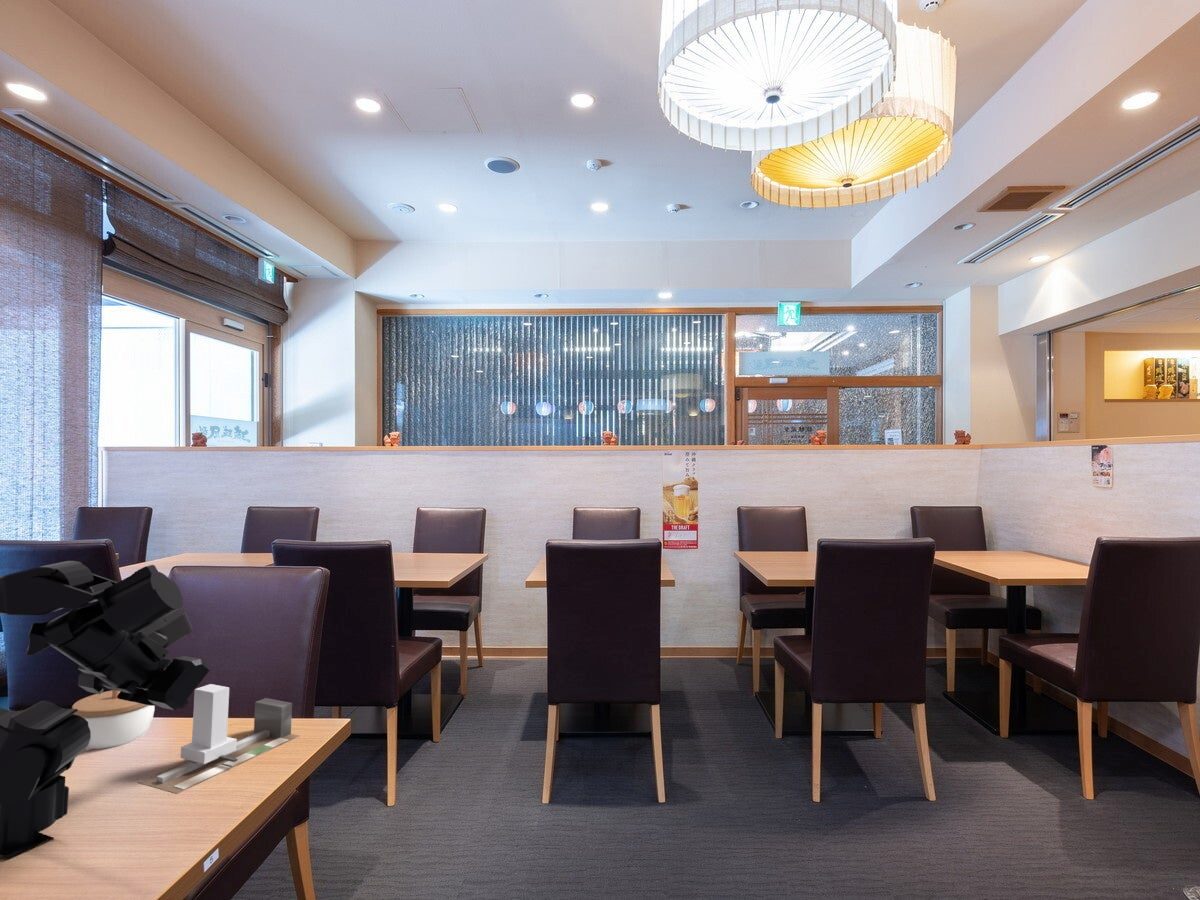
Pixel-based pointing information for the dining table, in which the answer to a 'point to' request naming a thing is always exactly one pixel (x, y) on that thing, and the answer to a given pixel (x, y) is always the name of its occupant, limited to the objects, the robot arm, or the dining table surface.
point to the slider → (210, 726)
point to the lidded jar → (113, 719)
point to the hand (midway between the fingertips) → (184, 705)
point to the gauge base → (267, 735)
